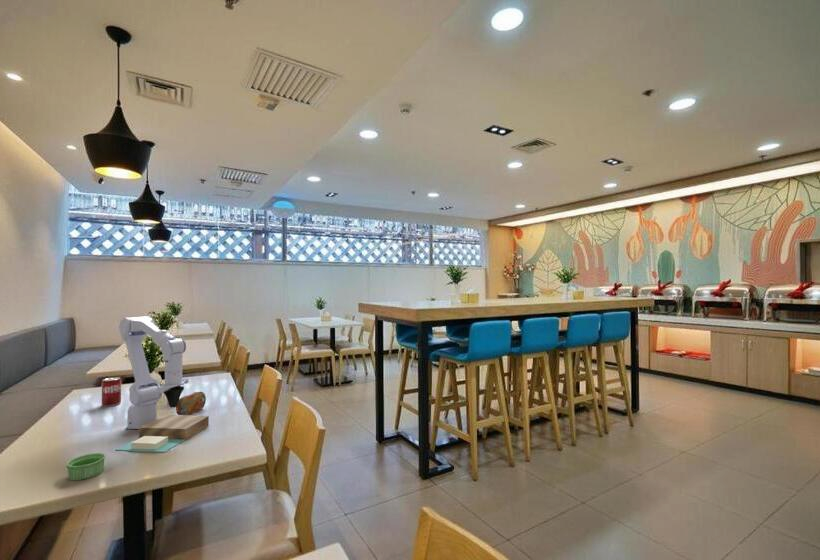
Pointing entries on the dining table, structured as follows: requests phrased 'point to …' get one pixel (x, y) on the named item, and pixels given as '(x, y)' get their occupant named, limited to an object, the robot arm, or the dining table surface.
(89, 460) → the ramekin
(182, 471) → the dining table surface
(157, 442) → the cream bevelled block
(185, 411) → the tin
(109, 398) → the soda can
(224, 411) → the dining table surface
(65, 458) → the dining table surface
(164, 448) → the mat
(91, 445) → the dining table surface
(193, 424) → the wooden block
